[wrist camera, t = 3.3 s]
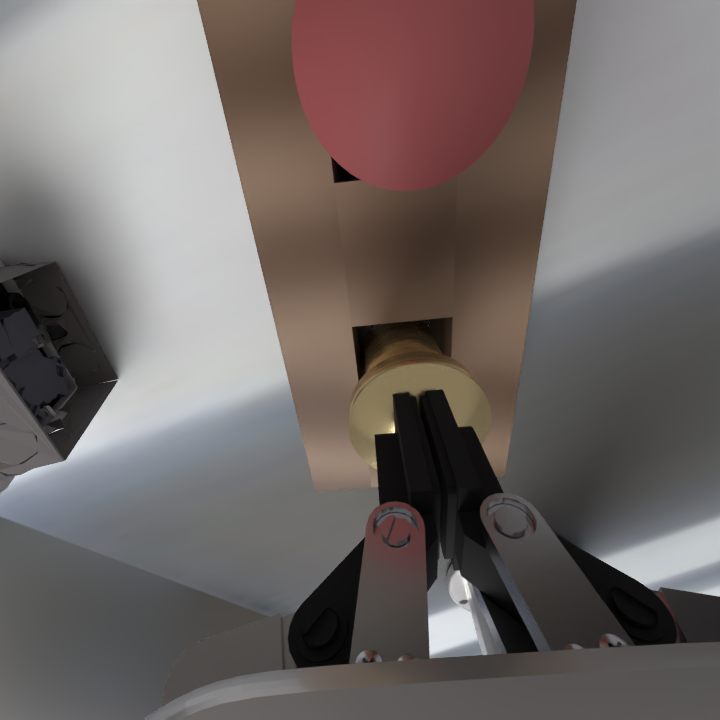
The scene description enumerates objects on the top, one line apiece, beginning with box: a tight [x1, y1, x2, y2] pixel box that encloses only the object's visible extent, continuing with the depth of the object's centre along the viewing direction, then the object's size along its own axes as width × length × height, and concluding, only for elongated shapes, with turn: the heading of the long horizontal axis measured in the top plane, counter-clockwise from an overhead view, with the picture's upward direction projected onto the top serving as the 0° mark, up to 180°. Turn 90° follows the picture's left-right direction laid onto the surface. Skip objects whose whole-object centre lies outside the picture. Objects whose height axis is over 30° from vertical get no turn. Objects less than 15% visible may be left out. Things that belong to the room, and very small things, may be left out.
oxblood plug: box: [292, 0, 534, 191], centre depth 10 cm, size 5×5×6 cm
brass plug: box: [348, 320, 491, 469], centre depth 15 cm, size 5×5×6 cm
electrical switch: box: [0, 259, 118, 494], centre depth 16 cm, size 9×5×9 cm, turn 5°
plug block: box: [197, 0, 577, 492], centre depth 15 cm, size 26×11×5 cm, turn 6°
